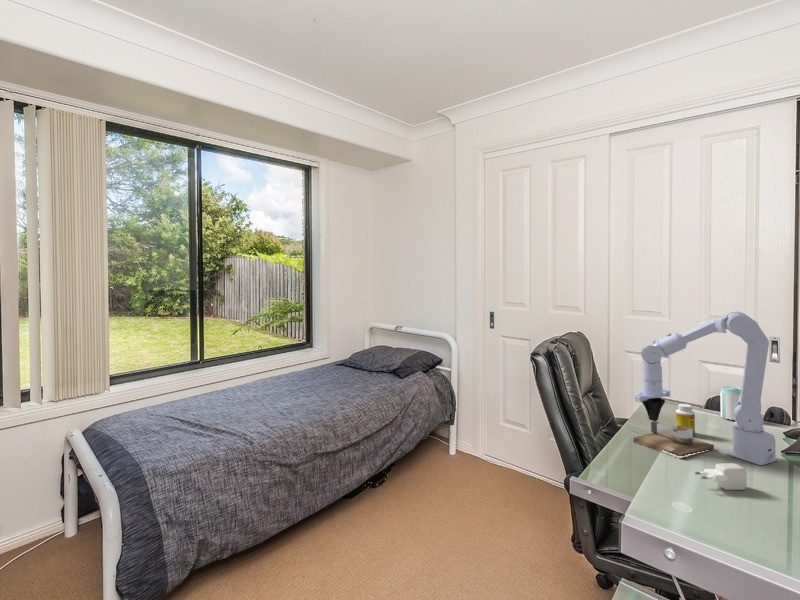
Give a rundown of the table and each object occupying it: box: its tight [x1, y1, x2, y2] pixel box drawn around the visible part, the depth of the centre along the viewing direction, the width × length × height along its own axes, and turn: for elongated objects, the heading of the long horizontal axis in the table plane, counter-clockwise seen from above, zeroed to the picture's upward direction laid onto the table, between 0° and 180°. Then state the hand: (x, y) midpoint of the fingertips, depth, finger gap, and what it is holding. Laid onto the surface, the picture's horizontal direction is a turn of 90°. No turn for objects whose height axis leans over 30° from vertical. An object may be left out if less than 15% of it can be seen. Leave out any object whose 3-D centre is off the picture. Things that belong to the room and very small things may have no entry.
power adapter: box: [694, 462, 748, 491], centre depth 110 cm, size 11×5×6 cm, turn 87°
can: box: [719, 386, 742, 421], centre depth 161 cm, size 7×7×12 cm
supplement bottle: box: [675, 403, 696, 435], centre depth 148 cm, size 6×6×10 cm
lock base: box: [632, 432, 715, 456], centre depth 139 cm, size 16×16×2 cm
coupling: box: [650, 421, 694, 444], centre depth 141 cm, size 13×6×5 cm, turn 21°
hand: (653, 420), depth 141 cm, fingers closed
